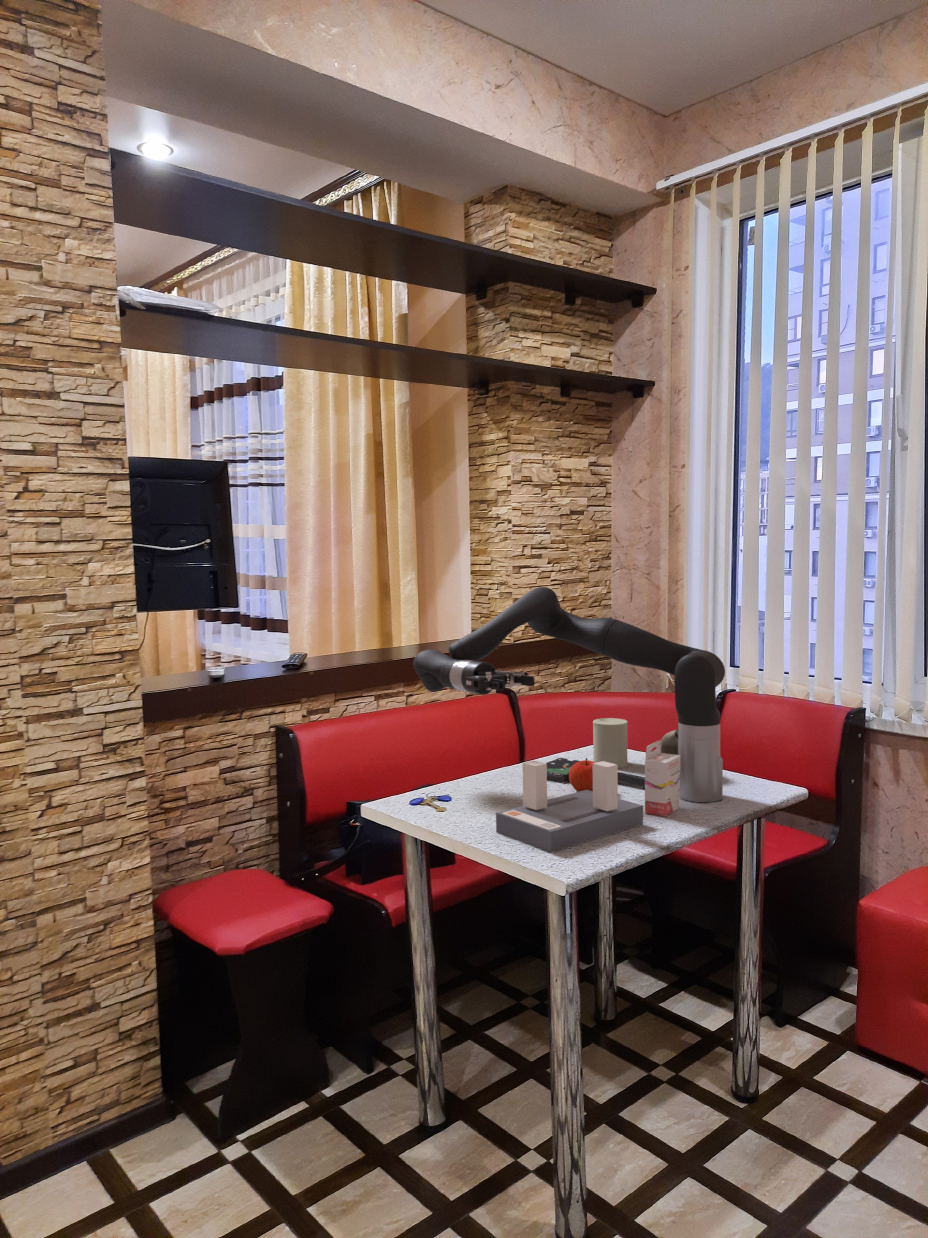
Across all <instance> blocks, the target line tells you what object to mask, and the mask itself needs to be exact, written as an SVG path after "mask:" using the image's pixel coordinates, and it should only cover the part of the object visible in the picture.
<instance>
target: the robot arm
mask: <svg viewBox="0 0 928 1238" xmlns="http://www.w3.org/2000/svg"><path fill="white" fill-rule="evenodd" d="M524 624H528V626H529V628H531V630H533V631H534V632H535V633H538V634H541V635H543V636H547V637H549V638H550V637H551V638H555V639H558V640H563V641H565V642H568V643H572V644H575V645H577V646H580V647H582V648H584V649H587V650H590V651H592V652H594V653H597V654H599V655H601V656H603V657H607V658H608V659H612V660H614V661H616V662H620V663H622V664H626V665H629V666H635V667H641V668H648V669H654V670H657V671H661V672H665V673H668V674H670V675H672V676H674V684H673V685H674V686H673V687H674V706H675V710H676V711H675V712H676V713H677V722H678V723H677V724H678V725H677V730H678V755H680V756H681V757H680V799H682V800H684V801H689V802H696V803H710V802H716V801H723V795H724V794H723V792H724V791H723V790H724V787H723V778H724V777H723V775H724V774H723V773H724V771H723V768H724V767H723V766H724V764H723V763H724V762H723V761H724V759H723V757H722V756H721V711H720V710H719V709H718V707H717V700H716V692H717V691H716V688H717V687H718V686H719V685H720V684H721V683H722V681H724V679H725V675H726V669H725V665H724V663H723V661H722V660H721V659H720V657H719V656H718V655H716V654H715V653H714V652H711V651H708V650H706V649H704V650H703V649H700V648H696V647H692V646H689V645H684V644H681V643H677V642H674V641H671V640H668V639H666V638H663V637H661V636H659V635H657V634H654V633H653V632H650V631H647V630H646V629H645V630H644V629H642V628H640V627H638V626H636V625H633V624H630V623H627V622H625V621H622V620H619V619H616V618H612V617H596V618H585V617H581V616H578V615H576V614H573V613H571V612H568V611H567V610H565V609H563V608H562V606H561V604H560V600H559V597H558V595H557V594H556V592H555V591H554V590H553V589H551V588H549V587H546V586H538V587H534V588H532V589H531V590H529V591H527V592H526V593H525V594H523V595H522V596H520V597H519V598H518V599H517V600H516V601H514V602H513V603H512V604H510V606H508V607H507V608H505V609H504V610H503V611H501V612H500V613H499V614H498V615H496V616H495V617H493V618H492V619H490V620H489V621H488V622H487V623H485V624H484V625H482V626H481V627H478V628H477V629H476V630H473V631H472V632H470V633H468V634H467V635H465V636H463V637H461V638H459V639H458V640H455V641H454V642H452V643H450V645H449V646H448V653H449V655H447V654H445V653H443V652H442V651H439V650H436V649H426V650H422V651H420V652H418V653H417V654H416V655H415V657H414V659H413V669H414V671H415V673H416V674H417V676H418V678H419V679H420V682H421V683H422V685H423V686H424V688H425V689H426V690H427V691H428V692H432V693H434V692H439V691H440V692H441V690H444V689H445V688H449V689H453V690H458V691H461V692H465V693H470V694H477V695H482V696H483V695H488V694H490V693H491V692H492V691H493V690H494V691H496V690H497V691H501V692H502V691H506V688H513V687H514V686H521V687H522V686H524V687H525V686H526V687H535V677H534V676H533V675H529V672H524V671H513V670H509V671H503V670H501V669H497V670H496V668H495V666H494V665H493V664H492V663H489V662H487V661H486V662H485V661H481V660H482V659H485V658H486V657H489V656H490V655H491V654H492V653H493V652H494V651H495V650H496V649H497V648H498V647H499V645H500V644H502V642H503V641H504V640H505V639H506V638H507V637H508V636H509V634H511V633H512V632H513V631H514V630H516V629H517V628H519V627H520V626H522V625H524Z"/></svg>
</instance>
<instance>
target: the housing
mask: <svg viewBox="0 0 928 1238" xmlns="http://www.w3.org/2000/svg"><path fill="white" fill-rule="evenodd" d="M643 825H644V805H643V804H640V803H635V802H631V801H630V800H625V799H621V798H618V809H614V810H611V811H604V810H601V809H598V808H594V807H593V791H590V790H584V791H580V792H579V791H576V792H572V793H569V794H565V795H560V796H557V797H553V798H547V807H546V808H543V809H539V810H534V809H531V808H528V807H525V806H523V805H522V806H517V807H513V808H509V809H506V810H502V811H498V812H495V826H496V827H495V829H496V830H495V831H496V833H498V834H501V835H503V836H506V837H508V838H511V839H514V840H516V841H519V842H521V843H525V844H527V845H529V846H532V847H535V848H536V849H541V850H542V851H546V852H547V853H554V852H558V851H561V850H564V849H568V848H571V847H575V846H577V845H580V844H584V843H588V842H590V841H594V840H596V839H601V838H603V837H607V836H610V835H613V834H617V833H620V832H623V831H626V830H630V829H632V828H635V827H639V826H643Z"/></svg>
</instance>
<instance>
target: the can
mask: <svg viewBox="0 0 928 1238" xmlns="http://www.w3.org/2000/svg"><path fill="white" fill-rule="evenodd" d="M592 728H593V729H592V731H593V732H592V736H593V737H592V738H593V739H592V740H593V742H592V743H593V753H592V754H593V758H592V759H593V760H592V761H593V762H596V763H597V762H601V761H604V762H608V763H613V764H617V767H618V769H621V768H625V767H628V765H629V762H628V720H626V719H623V718H616V717H615V718H614V717H602V718H596V719H593V720H592Z"/></svg>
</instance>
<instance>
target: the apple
mask: <svg viewBox="0 0 928 1238" xmlns="http://www.w3.org/2000/svg"><path fill="white" fill-rule="evenodd" d="M579 761H580V762H577V763H575V764H574V765H573V766H572V767H571V768H570V771H569V780H570V781H569V782H570V785H571V787H573V789H574V790H575V791H576V792H580V791H584V790H590V791H593V763H596V762H593V760H588V757H586V758H585V759H584V760H579Z"/></svg>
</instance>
